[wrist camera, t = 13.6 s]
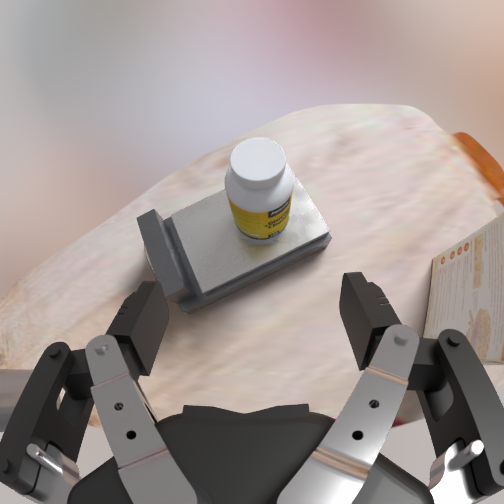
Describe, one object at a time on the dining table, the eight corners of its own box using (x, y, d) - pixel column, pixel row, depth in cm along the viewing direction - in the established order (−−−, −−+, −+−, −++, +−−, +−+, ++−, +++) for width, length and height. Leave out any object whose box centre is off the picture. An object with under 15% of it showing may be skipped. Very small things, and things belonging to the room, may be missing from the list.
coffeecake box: (452, 364, 30) (553, 364, 11) (416, 359, 31) (520, 361, 12) (465, 267, 34) (552, 220, 15) (431, 256, 35) (519, 196, 16)
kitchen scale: (184, 315, 34) (162, 308, 27) (154, 237, 38) (130, 213, 30) (327, 246, 36) (341, 221, 28) (284, 176, 40) (286, 141, 32)
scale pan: (205, 294, 32) (202, 292, 31) (173, 219, 35) (170, 215, 34) (328, 234, 33) (330, 230, 32) (286, 167, 36) (286, 162, 35)
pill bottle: (258, 253, 32) (252, 207, 21) (223, 214, 34) (203, 157, 22) (300, 219, 33) (313, 161, 22) (264, 183, 34) (261, 119, 23)
